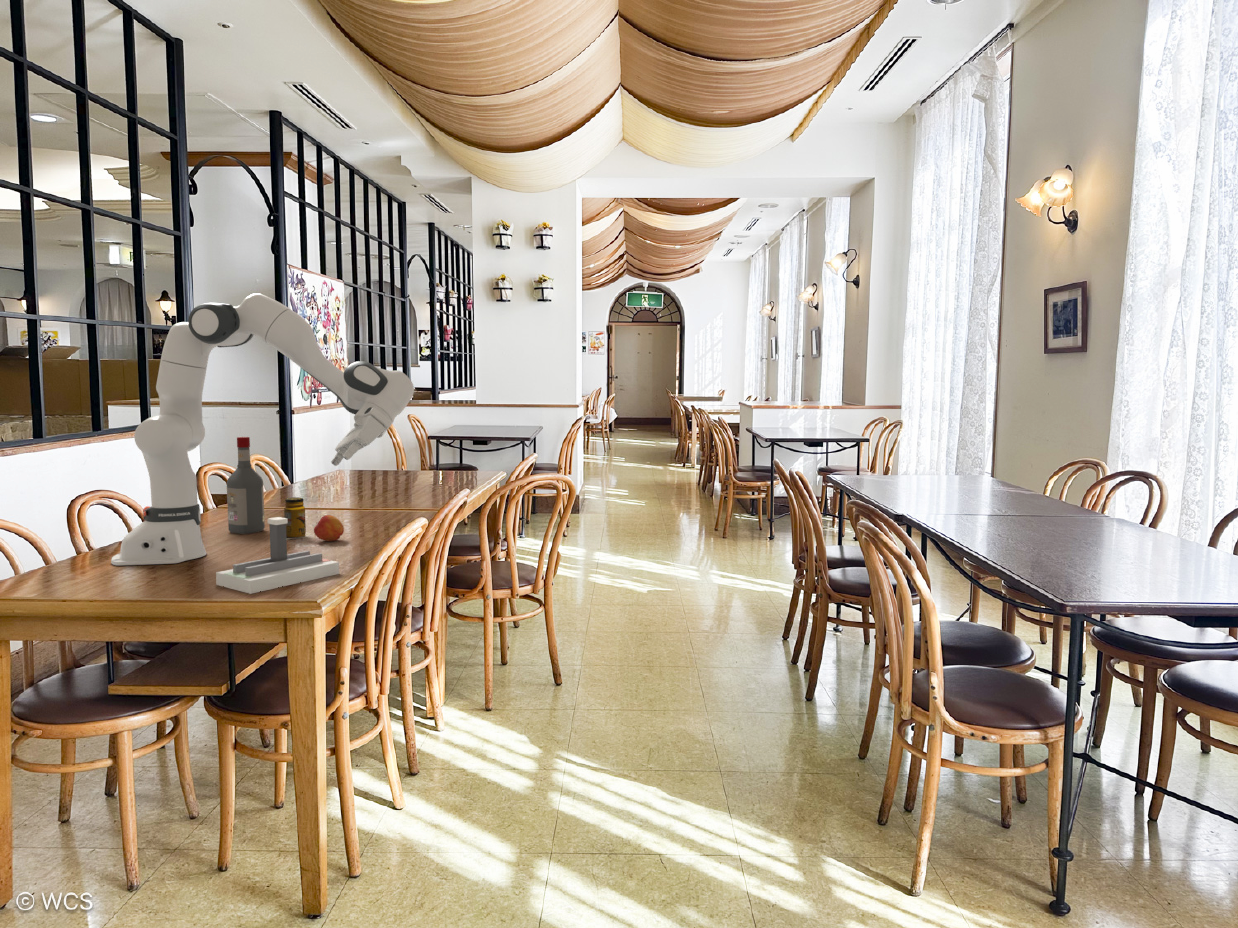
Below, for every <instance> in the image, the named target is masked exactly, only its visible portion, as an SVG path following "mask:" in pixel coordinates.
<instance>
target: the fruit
mask: <svg viewBox="0 0 1238 928" xmlns="http://www.w3.org/2000/svg"><path fill="white" fill-rule="evenodd" d="M344 532H345V527H344V525H343V523H342V521H340V519H339V518H337V517H336V516H334V515H330V514H326V515H323V516H321V518H320V520H318V522H317V524H316V525H315V526H314V528H313V533H314V535H315V536H316V537H317V538H318V539H319V540H321V541H324V542H336V541H339V539H341V536H342V535H343V534H344Z"/></svg>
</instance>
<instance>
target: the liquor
mask: <svg viewBox="0 0 1238 928" xmlns="http://www.w3.org/2000/svg"><path fill="white" fill-rule="evenodd" d="M236 447H237V466H236V469H235V470H234V471H233V472H232V473H231V475H229V477H228V478H227V481H226V500H227V501H226V503H227V522H228V523H227V524H228V531H229V533H231V534H237V535H250V534H254V533H256V534H257V533H259V532H261V531H262V532H263V531H264V529H265V528H266V522H265V500H264V499H265V498H264V497H265V496H264V495H265V494H264V480H263V478H262V476H261V475H260V474H259V473H258V472H257V471H256V470H255V469H254V468H253V467H252V464H251V452H250V448H251V439H250V437H249V436H241V437H239V436H238V437H236Z"/></svg>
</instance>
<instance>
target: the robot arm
mask: <svg viewBox="0 0 1238 928" xmlns="http://www.w3.org/2000/svg"><path fill="white" fill-rule="evenodd" d="M167 333H168V334H167V336H166V339H165V342H164V344H163V348H162V353H161V357H160V361H159V366H158V367H159V368H158V374H157V380H156V384H155V390H156V393H157V394H158V398H159V400H158V401H159V414H157V415H152V416H150V417H148V418H146V419H145V420H143V421H142V422H141V423H139V424H138V425H137V426H136V428H135V430H134V437H133V438H134V442H135V445H136V447H137V448H138V449H139V450H140V451H141V453H142V455H143V459H144V463H145V465H146V468H147V472H148V476H149V483H150V485H149V486H150V498H151V499H150V501H151V506H150V505H149V506H145V507H144V508H142V509H143V510H142V512H143V513H142V517H143V520H144V521H143V522H142V523H140V524H139V525H137V526H136V527H134V529H132V530H131V531H130V532H128V533H126V535H125V536H124V537H123V539H122V541H121V544H120V551H119V553H117V554H115V555H113V556H112V557H111V561H110V563H111V564H112V566H137V565H138V566H139V565H140V566H141V565H164V564H167V565H168V564H178V563H182V562H185V561H190V560H194V559H195V560H196V559H198V558H202V557H205V556H206V555H207V551H206V548H205V545H204V542H203V537H202V532H201V526H200V524H201V520H202V517H201V508H200V504H199V503H198V502H199V501H198V484H197V483H198V481H197V475H196V473H195V472H194V470H193V468H192V465H191V462H190V458H189V454H188V452H191V451H193V450H194V449H196V448H197V447H199V445H200V444H202V443H203V441H204V438H205V437H206V429H205V425H204V423H203V392H204V391H203V390H204V387H205V380H206V376H207V375H206V374H207V368H208V362H209V358H210V357H209V356H210V354H211V353H212V351H213V349H214V348H216V347H217V348H230V347H231V348H232V347H239V346H242V345H245V344H247V343H248V342H250V341H251V340H252V338H253V337H254V336H255V337H257V338H258V339H260V340H262V341H263V342H265V343H266V344H267V345H269V346H271V348H273V349H275V350H276V351H278V352H280V353H281V354H282V355H284V356H285V357H286V358H287V359H289V360H291V362H293V364H296V365H297V366H298V367H299V368H300V369H302V370H303V371H304V372H305V373H306V374H308V376H310V377H311V378H313V379H314V380H315V381H316V382H319V384H321V386H323V387H324V388H326V389H327V390H328V391H330V392H331V393H332V394H333V395H335V396H336V398H337V400H338V401H340V403H341V405H342V406H343V408H344V409H345V410H346V411H347V412H349V413H350V414H353V420H354V424H353V427H354V428H352V429H351V430H350V431H349V432H348V433H347V434H346V435H344V437H343V438H342V439H341V441H340V442H339V443H338V444H337V445H336V446H335V448H334V449H335V451H336V454H335V456H334V457H333V458H332V460H331V461H330V462H331V464H332V465H333V466H334V467H337V466H338V465H340V464H341V462H342V461H343V460H346V461H348V460H351V458H352V457H354V455H355V454H356V453H357V452H358V451H359V450H362V449H363V448H366V447H367V446H369V445H370V444H372V443H373V442H374V441H375V440H376V439H377V438H378V439H379V438H382V437H383V436H384V434H386V432H388V430H389V428H391V426H392V425H393V423H394V421H395V419H396V417H397V416H399V415H400V414H401V413H403V411H404V409H406V407H407V406H408V404H409V403H410V401H411V400H412V398H413V396H414V394H415V386H414V384H413V381H412V379H410V377H409V376H408V375H407V374H406V373H404V372H403V371H400V370H390V369H389V370H387V369H384V368H380V367H378V366H375V365H374V364H372V363H370V362H368V361H364V360H360V361H359V360H358V361H355V362H352V363H349V364H348V365H347V366H346V368H345V369H344V371H343V370H341V369H340V368H339V367H338V366H336V365H335V364H334V363H333V362H331V361H330V360H329V359H327V357H326V356H325V355H324V353H323V352H322V350H321V348H320V346H319V343H318V342H317V338H316V336H315V333H314V330H313V327H312V326H311V325H310V324H309V323H308V322H307V321H306V320H305V319H304V318H303V316H301V315H300V314H298V313H297V312H296V311H294V310H293V309H291V308H289V307H288V306H286V305H285V304H283V303H281V302H280V301H277V300H276V299H273V298H271V297H269V296H267V295H265V294H262V293H252V294H250V295H248V296H245V298H244V299H242V302H241V303H240V304H239V305H237V306H233V304H231V303H222V302H221V303H219V302H205V303H201V304H198V305H197V306H195V307H194V308H192V310H191V312H190V313H189V315H188V319H187V321H181V322H177V323H175V324H173V325H172V326H171V327H170V329H169V331H168V332H167Z"/></svg>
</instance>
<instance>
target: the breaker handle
mask: <svg viewBox="0 0 1238 928" xmlns="http://www.w3.org/2000/svg"><path fill="white" fill-rule="evenodd" d="M287 523H288V519H287V518H284V517H281V516H277V517H270V518H267V525H269V547H270V550H269V551H270V558H271V559H269V560H270V563H271V562H276V561H281V560H286V559H287V554H288V547H287V546H288V544H287V542H288V539H287V538H286V524H287Z"/></svg>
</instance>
